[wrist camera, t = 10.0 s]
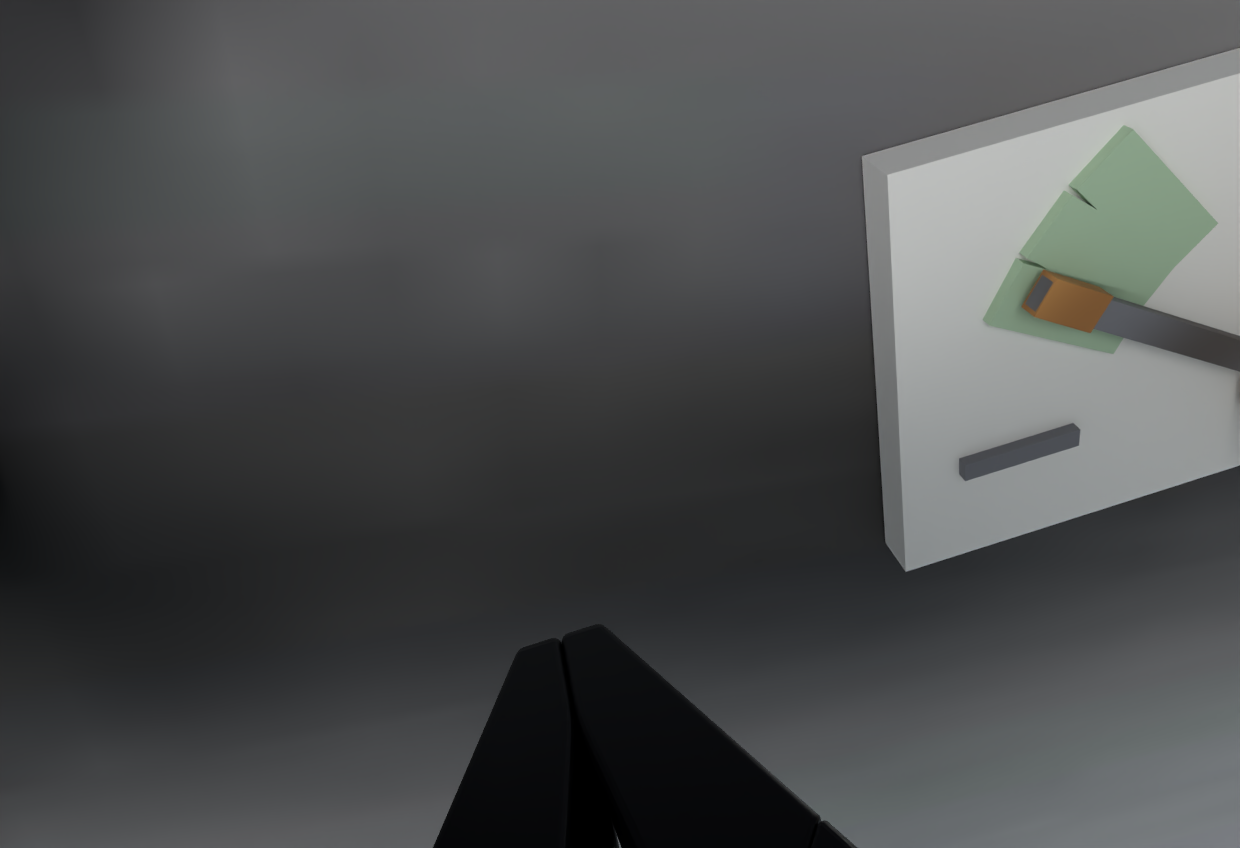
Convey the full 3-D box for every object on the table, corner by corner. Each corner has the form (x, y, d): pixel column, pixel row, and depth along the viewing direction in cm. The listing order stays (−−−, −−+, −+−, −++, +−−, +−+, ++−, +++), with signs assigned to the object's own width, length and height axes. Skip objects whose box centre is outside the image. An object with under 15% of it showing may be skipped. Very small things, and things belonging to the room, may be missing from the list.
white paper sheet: (885, 542, 27) (911, 579, 25) (862, 155, 20) (894, 180, 19) (1320, 405, 28) (1365, 434, 26) (1426, -6, 21) (1492, 7, 20)
